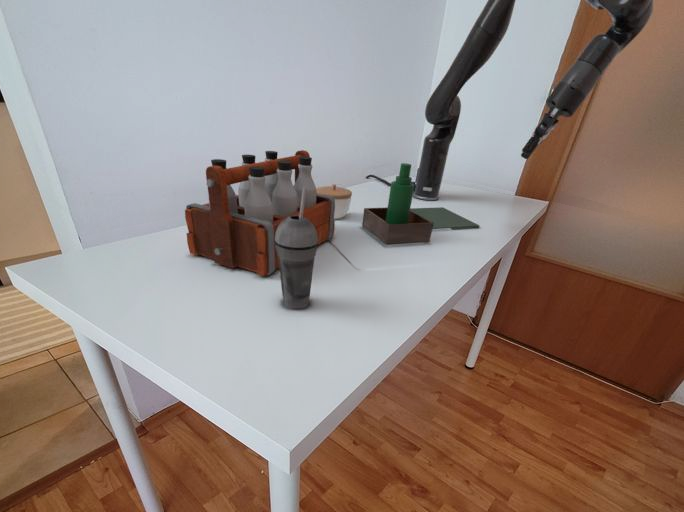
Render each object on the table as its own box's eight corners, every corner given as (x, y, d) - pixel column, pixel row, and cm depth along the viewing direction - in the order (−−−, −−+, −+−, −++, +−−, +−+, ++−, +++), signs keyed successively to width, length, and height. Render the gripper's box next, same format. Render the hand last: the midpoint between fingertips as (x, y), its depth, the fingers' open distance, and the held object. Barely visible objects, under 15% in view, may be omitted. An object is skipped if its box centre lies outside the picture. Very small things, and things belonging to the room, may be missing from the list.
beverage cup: (276, 293, 69) (273, 180, 57) (315, 294, 70) (319, 182, 58) (275, 312, 63) (271, 191, 51) (316, 313, 64) (322, 193, 52)
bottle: (380, 230, 102) (390, 161, 92) (398, 229, 104) (410, 162, 94) (390, 237, 98) (401, 166, 87) (409, 236, 100) (422, 166, 89)
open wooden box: (361, 227, 105) (364, 208, 102) (401, 225, 109) (405, 206, 106) (385, 246, 94) (388, 225, 90) (429, 243, 98) (433, 223, 94)
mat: (397, 211, 122) (397, 208, 121) (442, 209, 127) (443, 207, 127) (429, 230, 107) (430, 228, 106) (478, 228, 113) (479, 225, 112)
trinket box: (332, 210, 117) (334, 179, 111) (356, 219, 111) (360, 186, 105) (307, 215, 111) (308, 182, 105) (331, 225, 105) (333, 190, 99)
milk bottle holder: (338, 236, 98) (345, 155, 86) (259, 283, 72) (253, 177, 60) (274, 220, 105) (272, 144, 93) (180, 257, 79) (162, 159, 68)
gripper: (555, 90, 95) (511, 152, 103) (563, 72, 83) (512, 143, 91) (581, 104, 94) (534, 166, 102) (592, 88, 82) (538, 159, 90)
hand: (524, 155), depth 96 cm, fingers open, 8 cm apart
